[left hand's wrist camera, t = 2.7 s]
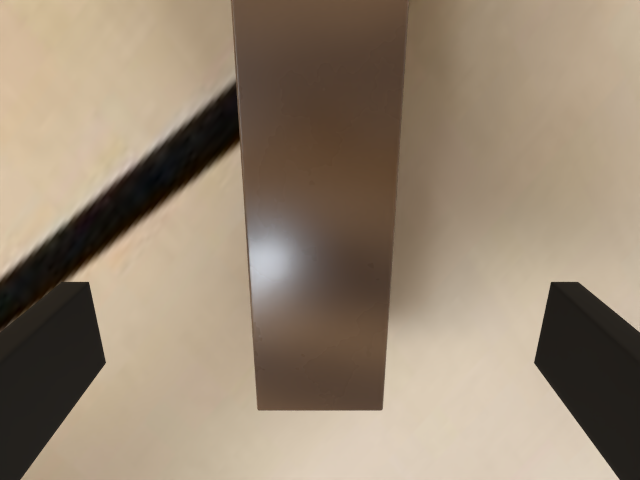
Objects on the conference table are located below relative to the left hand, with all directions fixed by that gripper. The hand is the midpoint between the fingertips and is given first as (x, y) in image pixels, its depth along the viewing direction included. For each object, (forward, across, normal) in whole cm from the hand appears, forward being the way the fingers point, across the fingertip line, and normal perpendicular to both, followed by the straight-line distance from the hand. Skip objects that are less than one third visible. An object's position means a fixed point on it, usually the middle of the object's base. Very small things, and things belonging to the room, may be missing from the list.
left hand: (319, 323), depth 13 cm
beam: (+12, 0, -19) cm, 23 cm away
